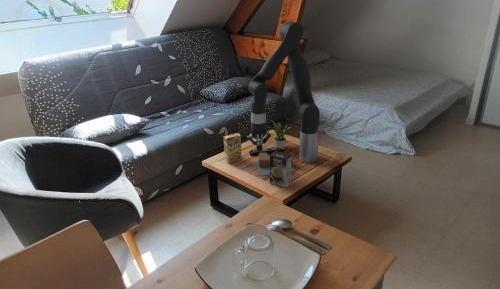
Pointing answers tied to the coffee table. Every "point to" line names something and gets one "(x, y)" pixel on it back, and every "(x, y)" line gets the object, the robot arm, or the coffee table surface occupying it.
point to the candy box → (232, 147)
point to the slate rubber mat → (266, 169)
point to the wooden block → (266, 160)
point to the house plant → (279, 136)
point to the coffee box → (280, 168)
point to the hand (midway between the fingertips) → (259, 150)
